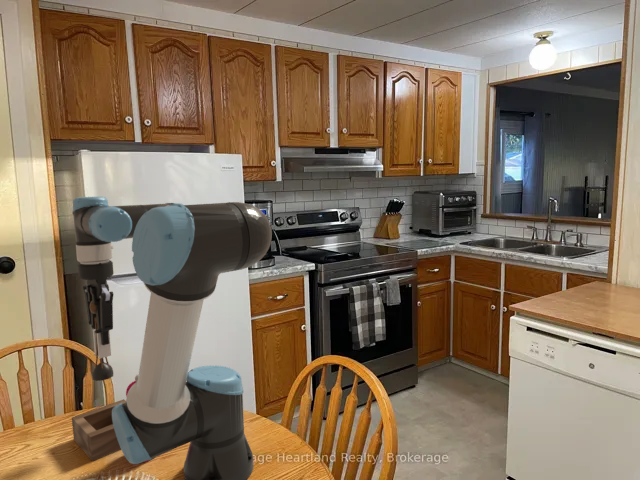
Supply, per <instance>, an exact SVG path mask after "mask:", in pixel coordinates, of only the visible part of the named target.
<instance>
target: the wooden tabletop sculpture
mask: <svg viewBox="0 0 640 480" xmlns="http://www.w3.org/2000/svg"><path fill="white" fill-rule="evenodd" d="M98 301H99V300H98ZM90 311H91V312H92V313H93V314H96V305H94V304H93V302H92V301H91V303H90ZM95 329H96V330H98V326H97V317H95ZM96 344H97V333H96ZM107 357H108V356H107ZM107 357H104V358H99V356H98V344H97V353H96V356H95V358H96V359H95V365H94V368H93V371H92V376H91V377H92V380H93V381H95V382H98V381H99V382H100V381H106V380H110V379H111V378H112V377H114V369H113V368H114V367H112V365H111V364H109V360H108V358H107ZM98 359H99V360H98ZM104 359H105V361H106V362H104ZM98 361H99V363H98Z"/></svg>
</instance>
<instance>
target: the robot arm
mask: <svg viewBox="0 0 640 480" xmlns="http://www.w3.org/2000/svg"><path fill="white" fill-rule="evenodd" d="M71 213H72V216H73V224H74V235H75V250H76V252H75V253H76V260H77V262H79V263H78V265H77V268H78V269H77V272H78V278H79V279H80V280H82V281H86V285H82V286H83V287H82V289H83V293H84V298H85V305H86V314H87V319H88V320H87V321H88V324H89V325H91V327H90V328H92V336H93V347H94V349H93V350H94V356H95V357H96V353H97V344H98V359H100V358H103V359H105V357H110V356H112V348H111V337H110V335H111V334H110V331H112V330H113V329H114V315H113V314H114V313H113V312H114V310H113V309H114V307H113V306H114V305H113V303H114V302H113V300H114V292H113V291H110V286H109V284H108V281H107V279H108V278H111V277H112V276H114V262H113V261H112V260H111V259H112V258H113V253H112V250H113V249H114V246H113V245H112V243H115V242H116V243H117V242H121V241H123V240H127V239H132V241H131V242H132V243H131V252H132V253H133V255H132V264H133V265H132V266H133V268H134V272H135V274H136V276H137V277H138V278H139V280H140V281H141V282H142V283H143V285H144V287H145V288H146V290H148V291H149V293H150V296H149V297H150V298H149V304H148V311H147V318H146V324H145V329H144V338H143V343H142V350H141V357H140V364H139V369H138V370H139V371H138V374H139V376H138V381H137V382H136V383H134V384H133V385H132V387H131V388H130V389H129V391H128V394H127V397H125V398H126V399H125V401H126V402H125V403H119V405H117V406H115V407H114V408H113V409H112V421H113V426H114V430H115V433H116V437H117V440H118V443H119V445H120V448H121V449H120V451H121V452H122V454H123V457H124V458H125V459H126V461H128V462H129V463H130V464H131V465H138V464H141V463H145V462H144V461H146V462H148V461H147V460H149V461H152V460H153V459H154V458H157V457H159V456H162V455H163V454H166V453H168V452H171V451H172V450H174V449H177V448H180V447H181V446H183V445H186V444H189V446H188V449H187V453H186V456H185V460H184V463H183V479H184V480H247V479H249V477H250V475H252V473H253V470H254V455H253V451H252V449H251V445H249V442H248V439H247V437H246V435H245V421H244V395H243V394H244V389H243V388H244V387H243V381H242V376H241V375H240V373H239V372H238V371H237V370H235V369H234V368H231V367H227V366H222V365H204V366H202V365H201V366H198V367H194V368H192V369H191V370H189V369H190V364H191V359H192V354H193V352H194V346H195V341H196V337H197V332H198V328H199V322H200V318H201V313H202V309H203V304H204V300H206V299H208V298H209V297H211V295H213V294H214V292H215V291H216V288H217V282H218V279H219V276H220V275H221V274H224V273H229V272H234V271H240V270H244V269H247V268H249V267H252V266H254V265H255V264H257V263H259V261H261V260H262V259H263V258H264V257H265V255H266V254H267V252H268V251H269V249H270V246H271V242H272V240H273V239H272V238H273V237H272V235H273V231H272V225H271V224H270V220H269V218H268V217H267V216H266V214H265V213H264V212H263V211H262V210H261V209H259V208H258V207H256V206H255V205H252V204H250V203H245V202H241V201H239V202H238V201H233V202H229V201H228V202H214V203H203V204H202V203H200V204H198V203H197V204H185V205H184V204H182V203H180V202H178V203H177V202H176V203H175V202H165V203H153V204H152V203H150V204H132V205H127V204H126V205H111V206H110V205H109V202H108V198H107V197H106V196H79V197H78V196H77V197H75V198H73V200H72V212H71ZM98 300H99V301H98ZM91 301H92V302H93V304H94V305H96V314H93V313H92V312H91V311H90V303H91ZM95 317H97V326H98V330H96V329H95ZM96 333H97V344H96Z"/></svg>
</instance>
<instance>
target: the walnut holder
mask: <svg viewBox="0 0 640 480" xmlns="http://www.w3.org/2000/svg"><path fill="white" fill-rule="evenodd" d="M125 402H126V399H121V400H118V401H115V402H112V403H109V404H107V405H104V406H101V407H97V408H95V409H92V410H89V411H87V412H83V413H81V414H78V415H74V416H72V417H71V425H72V433H73V441H74V442H75V443H76V444H77V445H78V447H79V448H80V449H81V450H82V451H83V452H84V453H85V455H86V456H87V457H88V458H89V459H90V461H91V462H94V461H97V460H99V459H101V458H103V457H106V456H109V455H111V454H113V453H116V452H118V451H121V448H120V445H119V443H118V440H117V437H116V433H115V430H114V426H113V421H112V409H113V408H114V407H115V406H117V405H119V403H125Z"/></svg>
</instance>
